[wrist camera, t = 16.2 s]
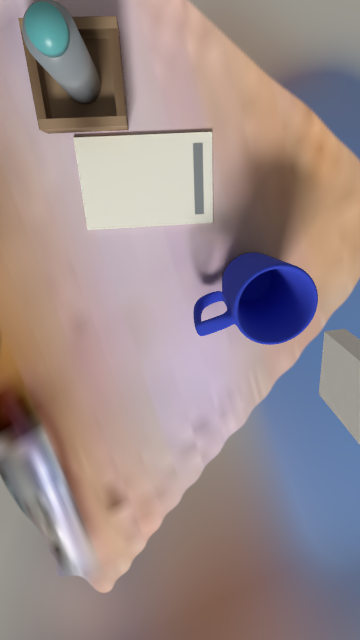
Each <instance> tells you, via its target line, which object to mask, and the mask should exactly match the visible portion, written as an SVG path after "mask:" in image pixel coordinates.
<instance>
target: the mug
mask: <svg viewBox="0 0 360 640" xmlns="http://www.w3.org/2000/svg"><path fill="white" fill-rule="evenodd" d="M218 301H224V302H225V304H226V306H227V311H226V312H225V313H224V314H222V315H220V316H217V317H214V318H211V319H208V320H205V321H202V322H201V313H202V311H203V309H204V308H205V307H207V306H208V305H210V304H212V303H215V302H218ZM317 303H318V294H317V289H316V286H315V284H314V281H313V280H312V278H311V277H310V276H309V275H308V274H307V273H306V272H305V271H304V270H302V269H301V268H299V267H297V266H294V265H292V264H289V263H286V262H284V261H281V260H278V259H275V258H273V257H270V256H267V255H264V254H261V253H246V254H242V255H240V256H238V257H237V258H235V259H234V260H233V261H231V262H230V264H229V265H228V266H227V268H226V270H225V272H224V274H223V279H222V292H220V291H216V292H212V293H209V294H207V295H205V296H203V297H201V298H200V299H199V300H198V301H197V302H196V304H195V307H194V323H195V328H196V331H197V333H198V334H199V335H200V336H204V335H208V334H211V333H214V332H217V331H219V330H222V329H225V328H227V327H229V326H231V325H233V324H235V325H237V327H238V328H239V330H240V331H241V332H242V333H243V334H244V335H245V336H246V337H247V338H249V339H250V340H252V341H254V342H257V343H261V344H269V345H270V344H279V343H283V342H286V341H288V340H290V339H292V338H294V337H296V336H297V335H299V334H300V333H301V332H302V331H303V330H304V329H305V328H306V327H307V326H308V325H309V323H310V322H311V320H312V318H313V316H314V314H315V312H316V308H317Z"/></svg>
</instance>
